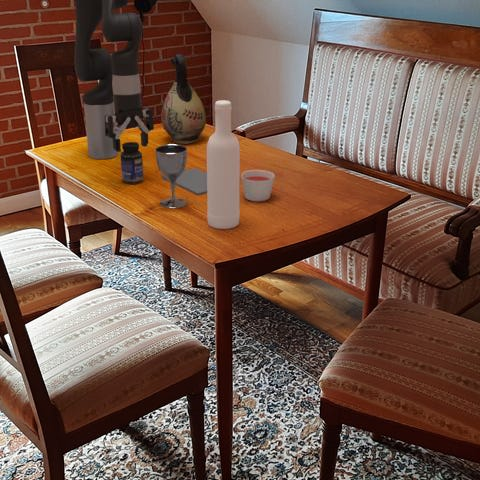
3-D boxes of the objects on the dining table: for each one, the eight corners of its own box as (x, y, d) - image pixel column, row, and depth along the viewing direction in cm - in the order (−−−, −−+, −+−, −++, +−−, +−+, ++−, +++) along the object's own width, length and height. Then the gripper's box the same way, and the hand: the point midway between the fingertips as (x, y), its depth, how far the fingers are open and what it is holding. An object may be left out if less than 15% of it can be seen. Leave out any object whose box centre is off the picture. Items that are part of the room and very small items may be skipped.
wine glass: (176, 211, 160) (174, 155, 154) (152, 204, 164) (149, 149, 158) (194, 201, 166) (193, 147, 160) (170, 195, 170) (168, 142, 164)
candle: (234, 195, 171) (234, 174, 168) (259, 189, 176) (260, 167, 173) (254, 206, 164) (255, 183, 161) (280, 198, 169) (281, 176, 166)
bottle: (237, 216, 158) (238, 97, 145) (241, 228, 151) (242, 105, 138) (206, 217, 157) (204, 98, 144) (208, 230, 150) (206, 106, 137)
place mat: (161, 177, 183) (161, 175, 183) (195, 169, 190) (195, 167, 190) (197, 195, 171) (197, 193, 170) (232, 185, 177) (232, 183, 177)
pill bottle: (139, 185, 177) (136, 148, 172) (119, 183, 178) (116, 146, 174) (146, 178, 183) (144, 141, 178) (126, 176, 184) (124, 140, 179)
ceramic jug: (159, 135, 223) (155, 49, 210) (201, 133, 227) (200, 48, 214) (165, 149, 208) (161, 57, 195) (211, 146, 212) (210, 56, 199)
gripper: (142, 85, 176) (145, 141, 183) (96, 92, 168) (102, 150, 175) (156, 89, 171) (159, 147, 178) (110, 96, 163) (115, 156, 169)
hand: (131, 148), depth 176 cm, fingers open, 8 cm apart
